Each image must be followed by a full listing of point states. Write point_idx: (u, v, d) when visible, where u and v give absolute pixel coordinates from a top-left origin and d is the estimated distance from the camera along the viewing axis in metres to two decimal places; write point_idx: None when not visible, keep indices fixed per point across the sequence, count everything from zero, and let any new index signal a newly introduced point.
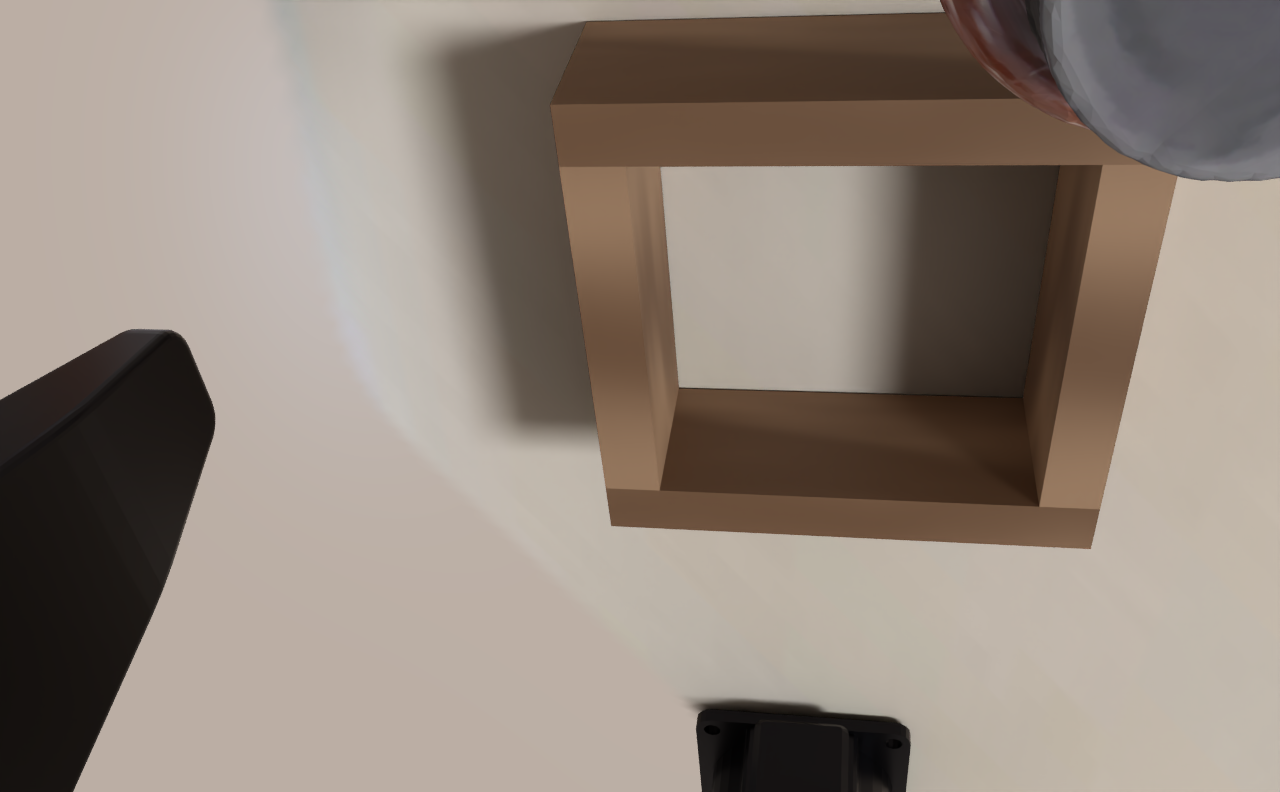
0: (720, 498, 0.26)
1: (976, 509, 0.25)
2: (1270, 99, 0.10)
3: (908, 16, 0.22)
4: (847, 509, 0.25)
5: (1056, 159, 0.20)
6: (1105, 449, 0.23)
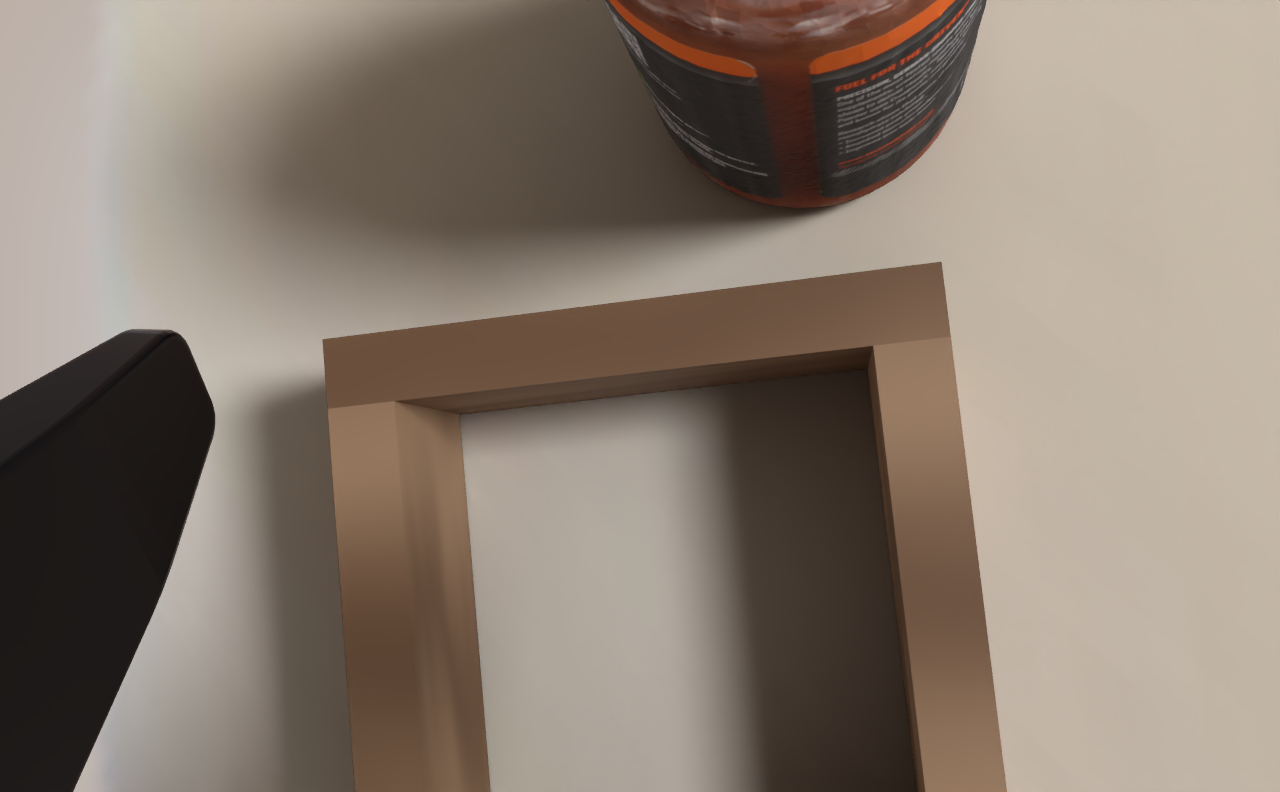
0: None
1: None
2: None
3: None
4: None
5: (825, 345, 0.19)
6: (990, 747, 0.18)
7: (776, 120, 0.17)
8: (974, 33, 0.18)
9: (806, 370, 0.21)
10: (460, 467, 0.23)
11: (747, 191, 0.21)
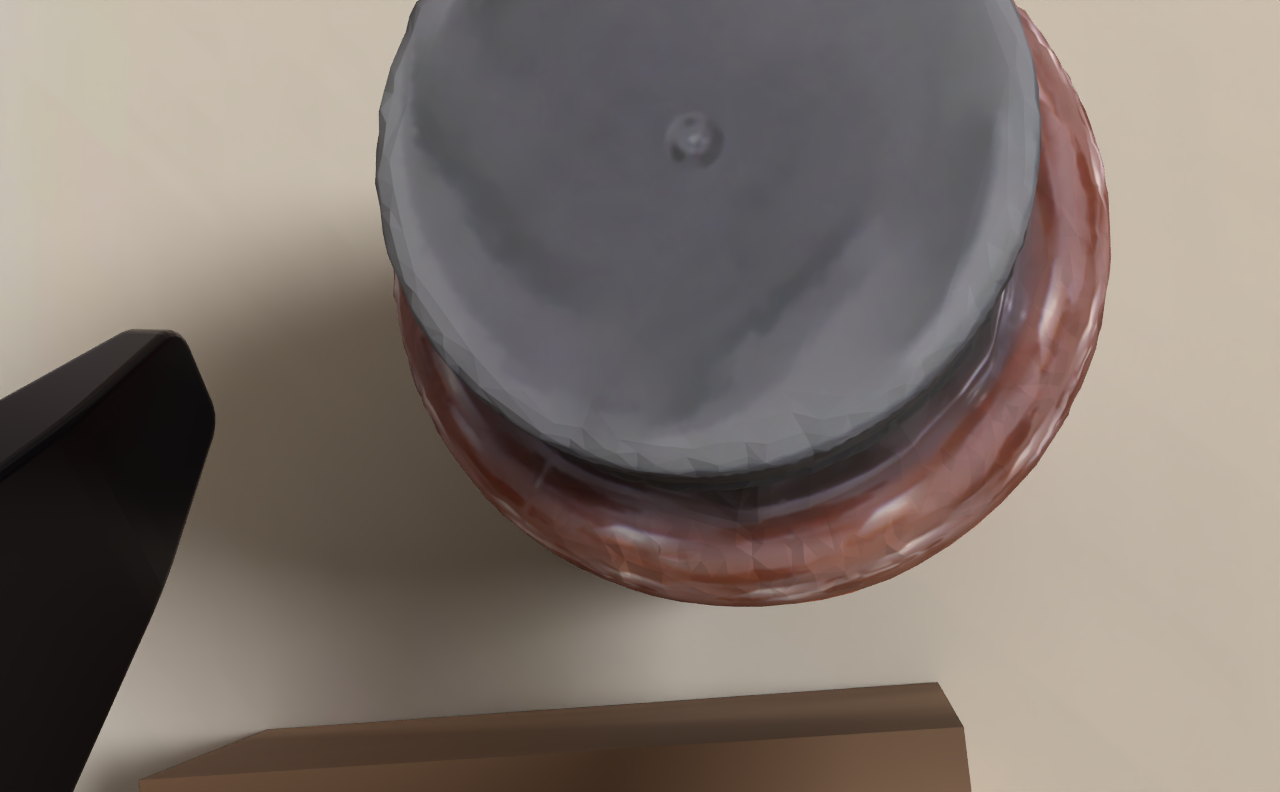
0: None
1: None
2: (724, 312, 0.07)
3: (643, 704, 0.18)
4: None
5: None
6: None
7: None
8: None
9: None
10: None
11: None
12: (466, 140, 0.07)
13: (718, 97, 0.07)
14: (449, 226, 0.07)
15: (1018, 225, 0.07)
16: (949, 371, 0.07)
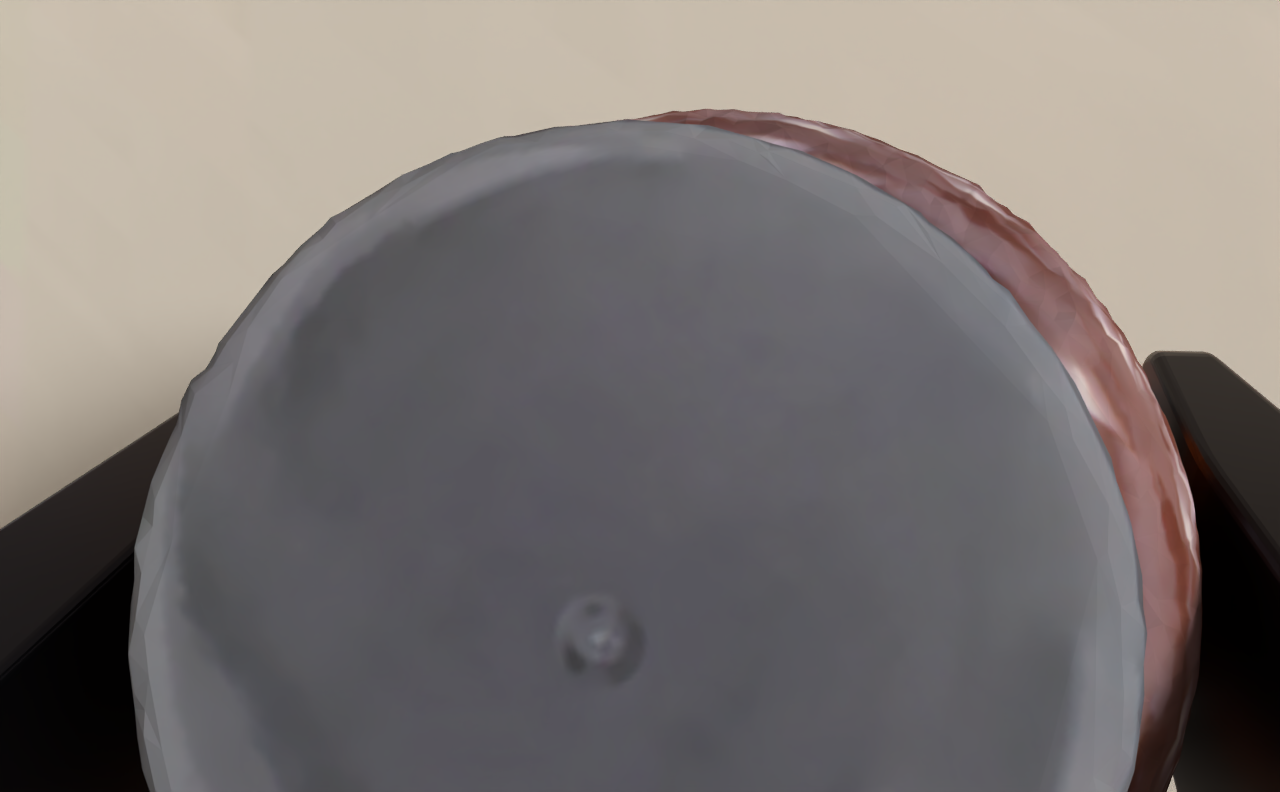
0: None
1: None
2: None
3: None
4: None
5: None
6: None
7: None
8: None
9: None
10: None
11: None
12: (256, 613, 0.05)
13: (637, 575, 0.04)
14: (229, 748, 0.05)
15: None
16: None
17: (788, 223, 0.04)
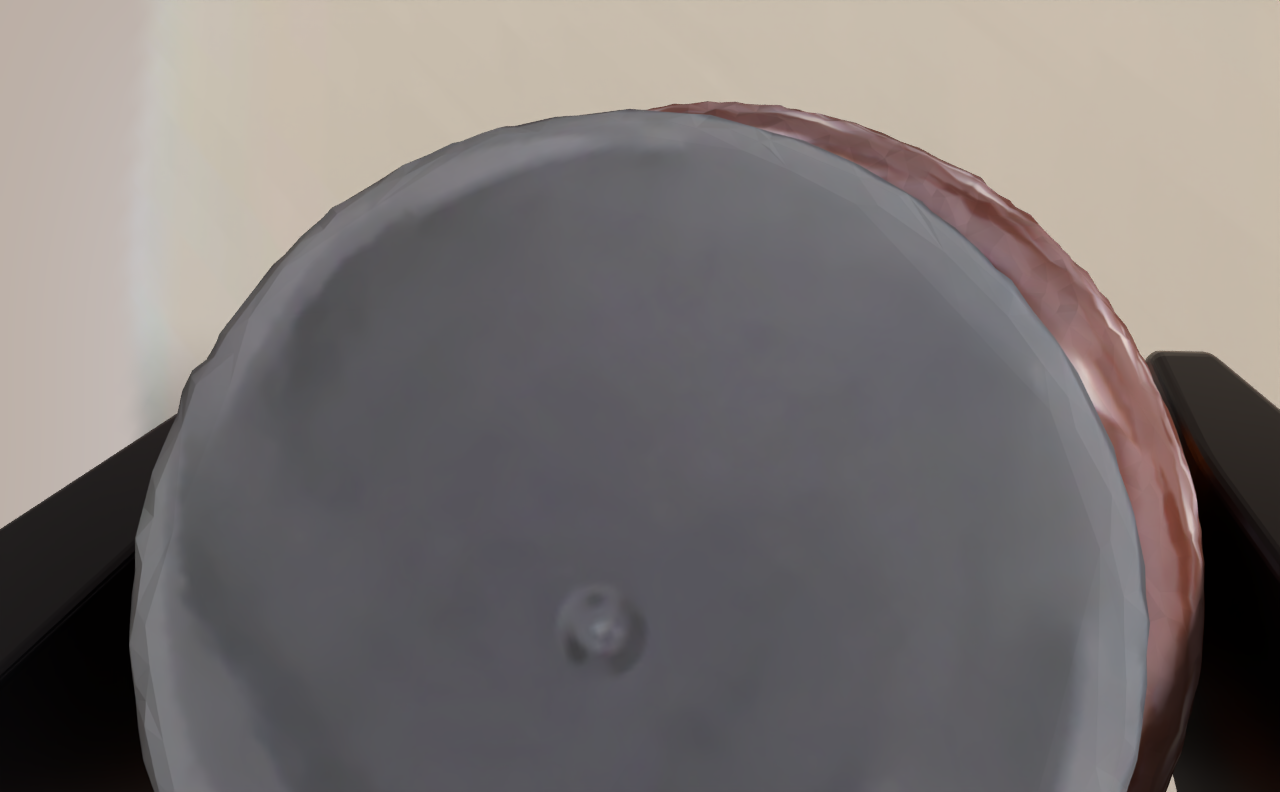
0: None
1: None
2: None
3: None
4: None
5: None
6: None
7: None
8: None
9: None
10: None
11: None
12: (257, 604, 0.05)
13: (637, 561, 0.04)
14: (230, 739, 0.05)
15: None
16: None
17: (791, 215, 0.04)
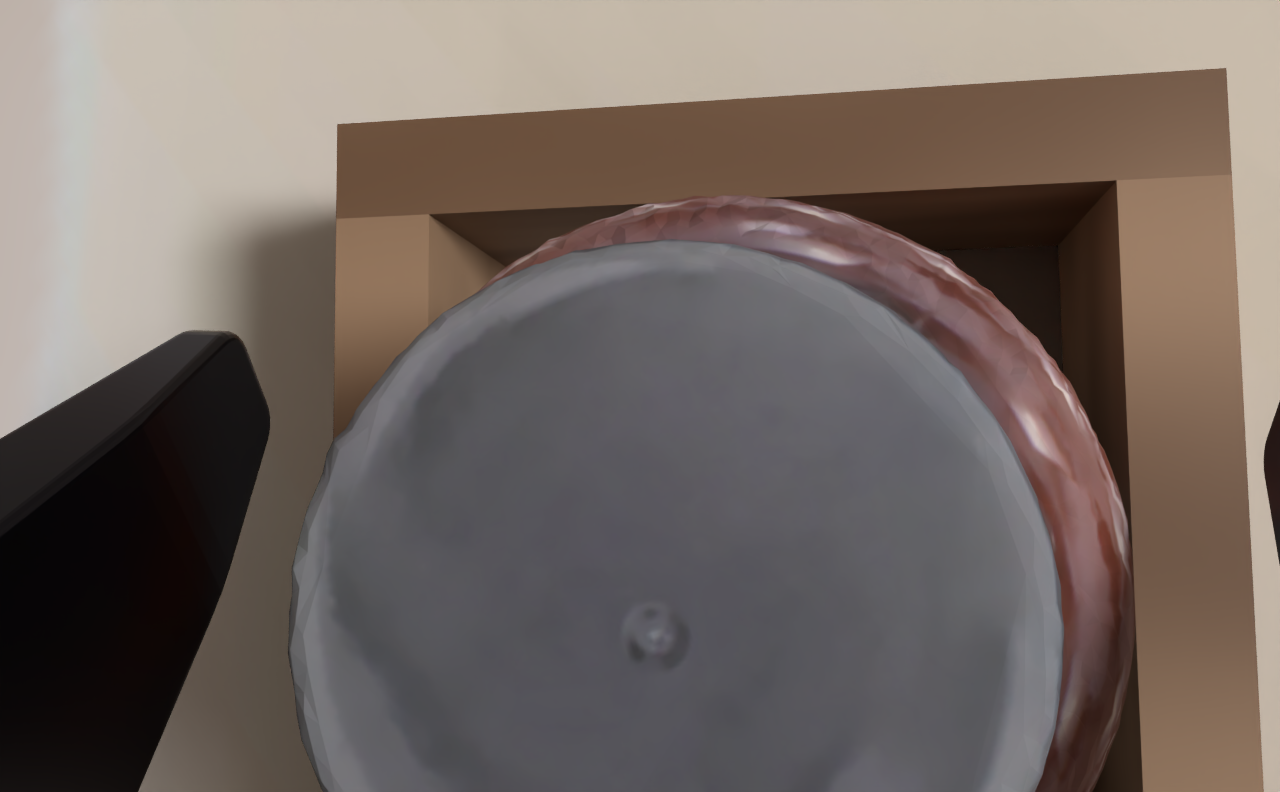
0: None
1: None
2: None
3: None
4: None
5: (1046, 176, 0.13)
6: (1245, 762, 0.12)
7: None
8: None
9: (982, 236, 0.16)
10: None
11: None
12: (391, 618, 0.06)
13: (682, 585, 0.06)
14: (372, 721, 0.06)
15: (1038, 760, 0.06)
16: None
17: (794, 323, 0.06)
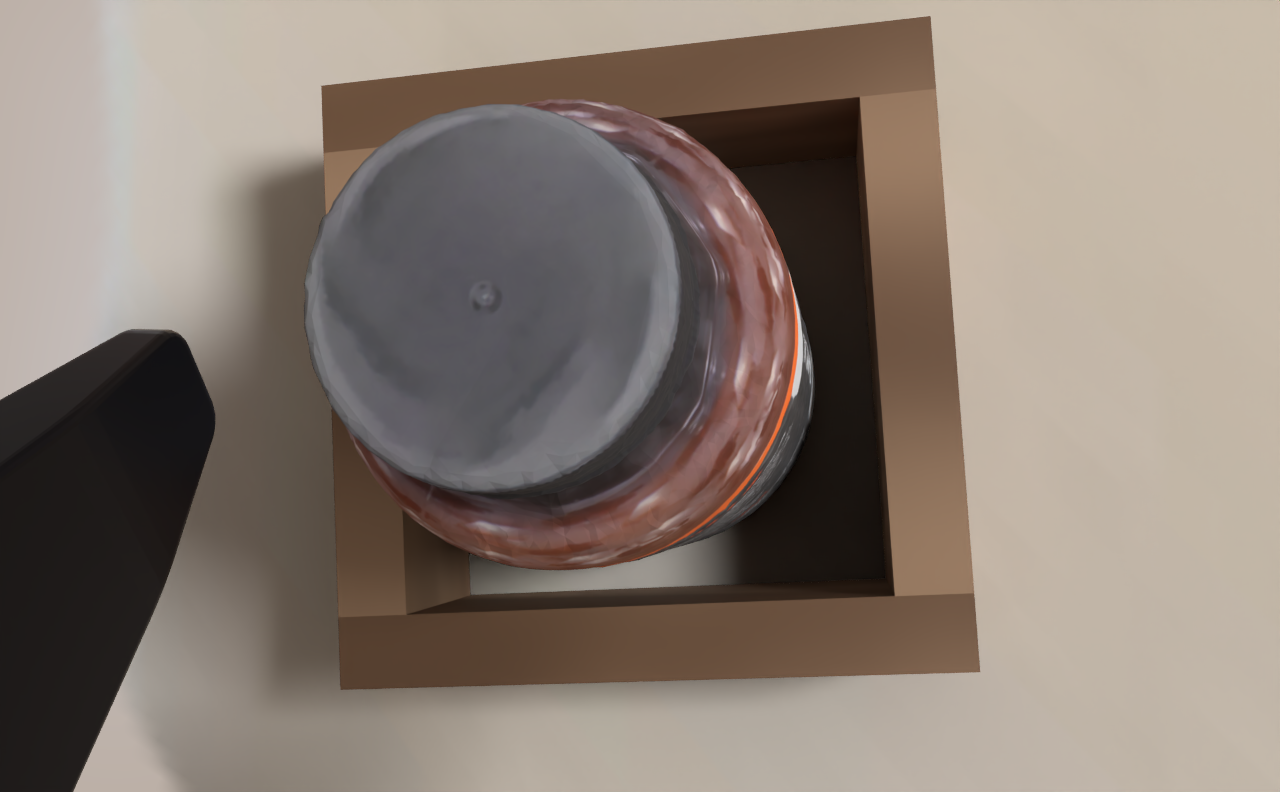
0: (483, 623, 0.19)
1: (815, 609, 0.19)
2: (506, 397, 0.12)
3: None
4: (647, 625, 0.19)
5: (813, 97, 0.19)
6: (955, 484, 0.18)
7: None
8: (794, 436, 0.18)
9: (795, 149, 0.22)
10: None
11: None
12: (355, 301, 0.12)
13: (497, 272, 0.12)
14: (348, 353, 0.12)
15: (667, 340, 0.11)
16: (655, 419, 0.12)
17: (546, 139, 0.12)
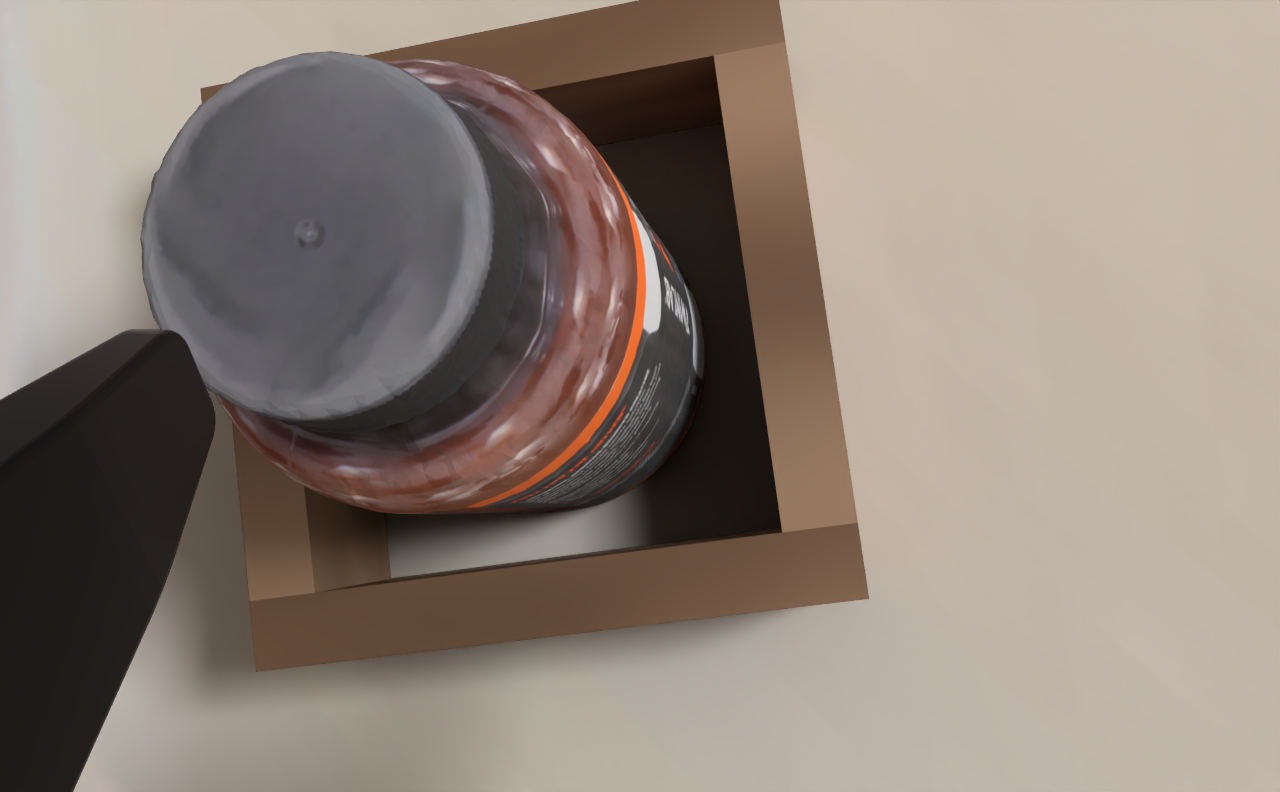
0: (390, 594, 0.20)
1: (707, 552, 0.19)
2: (334, 326, 0.12)
3: None
4: (547, 582, 0.19)
5: (669, 59, 0.20)
6: (832, 419, 0.19)
7: (478, 511, 0.17)
8: (671, 382, 0.19)
9: (670, 118, 0.23)
10: None
11: None
12: (188, 249, 0.12)
13: (319, 208, 0.12)
14: (184, 299, 0.12)
15: (482, 258, 0.12)
16: (489, 342, 0.13)
17: (357, 81, 0.12)
